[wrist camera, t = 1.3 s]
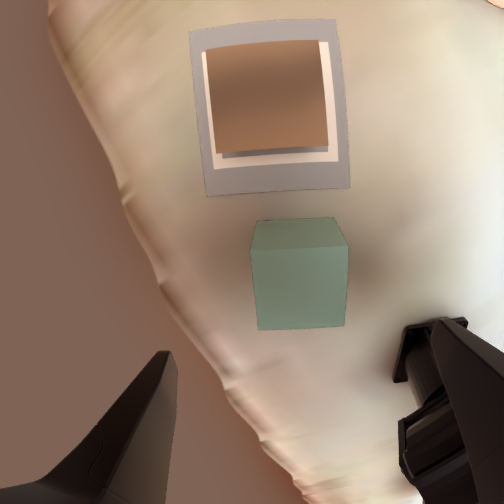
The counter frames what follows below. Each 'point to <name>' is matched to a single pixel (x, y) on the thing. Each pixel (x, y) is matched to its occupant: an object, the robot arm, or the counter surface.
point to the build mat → (277, 159)
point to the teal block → (299, 273)
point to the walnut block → (267, 95)
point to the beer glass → (497, 3)
